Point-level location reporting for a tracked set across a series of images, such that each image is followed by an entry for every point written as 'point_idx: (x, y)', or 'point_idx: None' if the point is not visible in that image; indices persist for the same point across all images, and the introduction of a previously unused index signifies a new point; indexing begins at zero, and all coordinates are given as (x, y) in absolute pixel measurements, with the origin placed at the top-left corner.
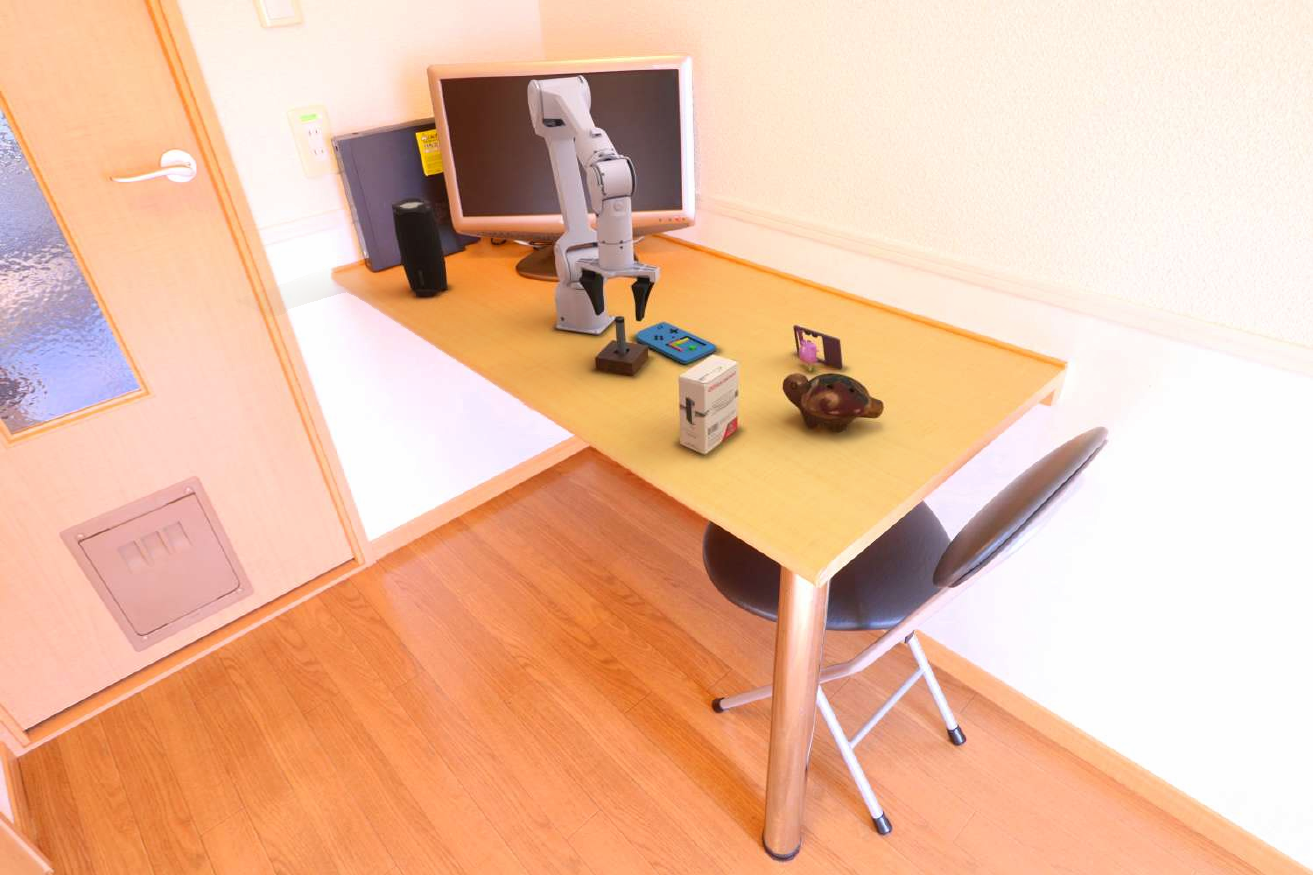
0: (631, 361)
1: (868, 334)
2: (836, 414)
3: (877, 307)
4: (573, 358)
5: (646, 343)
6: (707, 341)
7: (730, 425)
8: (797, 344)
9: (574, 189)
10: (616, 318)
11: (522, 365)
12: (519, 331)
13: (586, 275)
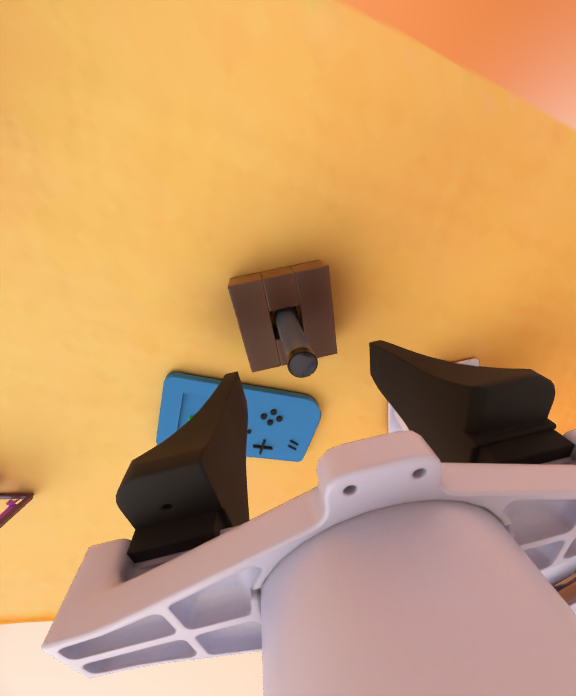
0: (235, 293)
1: (4, 575)
2: None
3: None
4: (392, 279)
5: (283, 393)
6: None
7: None
8: (10, 511)
9: None
10: (310, 358)
11: (488, 190)
12: (542, 316)
13: (525, 432)
